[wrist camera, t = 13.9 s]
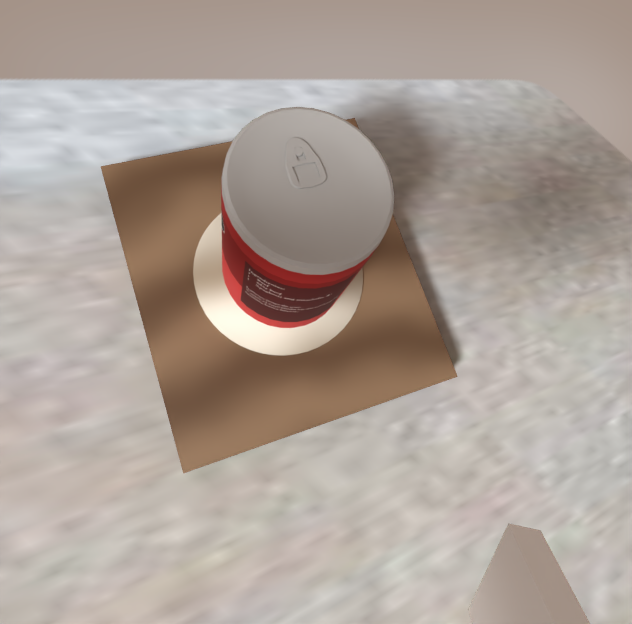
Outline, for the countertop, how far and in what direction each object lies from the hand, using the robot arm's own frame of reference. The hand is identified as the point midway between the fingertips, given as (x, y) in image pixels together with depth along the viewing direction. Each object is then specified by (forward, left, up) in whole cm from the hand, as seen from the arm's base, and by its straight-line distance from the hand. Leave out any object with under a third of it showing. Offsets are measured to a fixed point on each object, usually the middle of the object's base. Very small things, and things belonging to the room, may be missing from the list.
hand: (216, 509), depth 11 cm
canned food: (+11, -7, -18) cm, 22 cm away
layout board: (+11, -7, -20) cm, 23 cm away
